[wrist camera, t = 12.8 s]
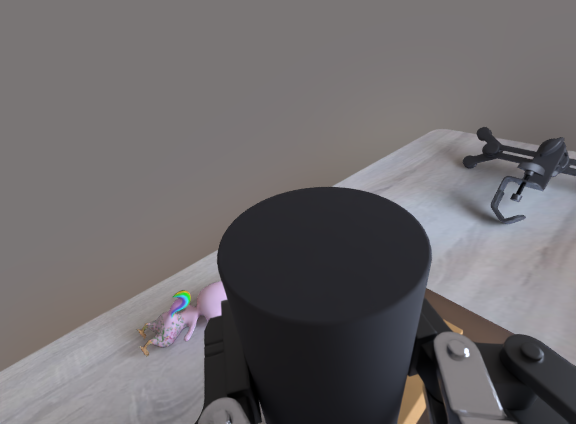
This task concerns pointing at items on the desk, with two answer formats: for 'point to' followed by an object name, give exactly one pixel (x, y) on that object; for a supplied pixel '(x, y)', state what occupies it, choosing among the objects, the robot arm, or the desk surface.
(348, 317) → the cylinder with tan block
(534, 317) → the desk surface
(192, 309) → the rabbit figure
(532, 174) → the tablet mount
